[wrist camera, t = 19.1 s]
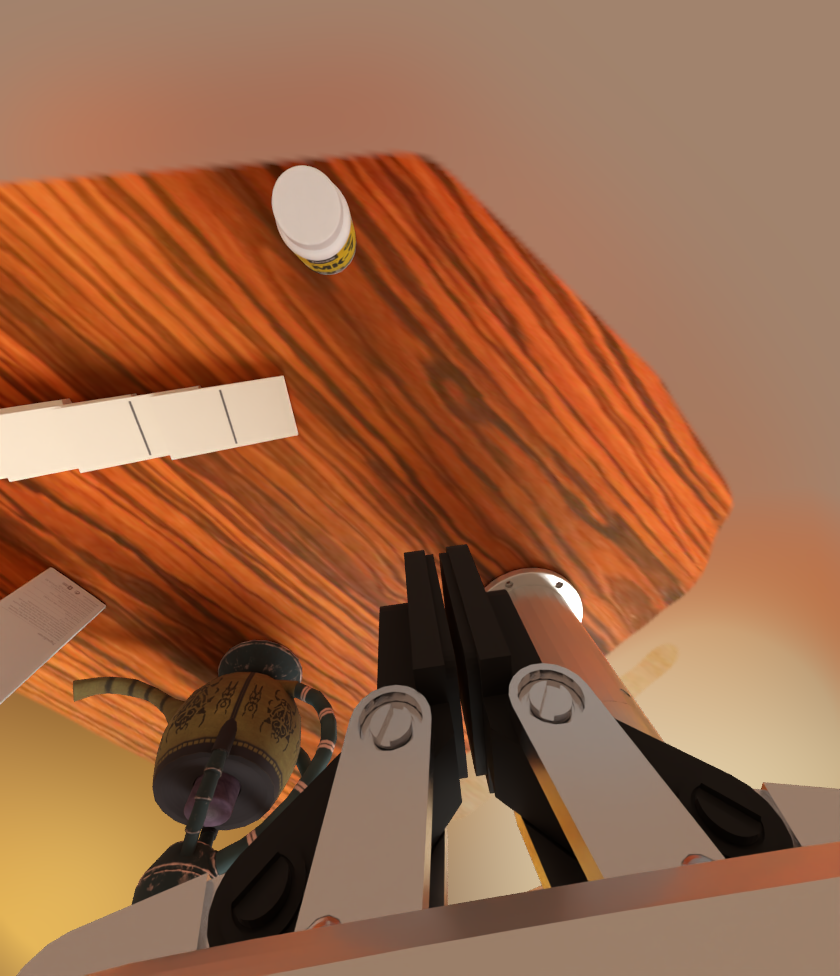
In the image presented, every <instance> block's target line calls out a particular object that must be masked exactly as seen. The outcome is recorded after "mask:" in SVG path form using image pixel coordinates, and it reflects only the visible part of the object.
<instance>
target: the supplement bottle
mask: <svg viewBox="0 0 840 976" xmlns="http://www.w3.org/2000/svg"><path fill="white" fill-rule="evenodd" d="M272 209H273V214H274V217H275V219H276V224H277V228H278V231H279V233H280V235H281V237H282V239H283V241H284V242H285V243H286V245H287V246H288V247H289V248H290V249H291V250H292V251H293V252H294V254H295V255H296V256H297V257H298V258H299V259H300V260H301V261H302V262H303V263H304V264H305V265H306V266H307V267H308V268H310V269H311V270H313V271H315V272H317V273H320V274H324V275H332V274H336V273H339V272H341V271H343V270H344V269H345V268H346V267H347V266H348V265H349V264H350V262H351V261H352V259H353V257H354V254H355V251H356V235H355V230H354V226H353V222H352V218H351V215H350V211H349V207H348V204H347V202H346V200H345V198H344V196H343V194H342V193H341V191H340V190H339V189H338V188H337V187H336V186H335V185H334V184H333V183H332V182H331V180H330V179H329V178H328V177H327V176H326V175H325V174H324V173H322V172H321V171H319V170H318V169H316V168H313V167H310V166H305V165H300V166H294V167H291V168H289V169H287V170H286V171H285V172H283V173H282V174H281V175H280V177H279V178H278V179H277V181H276V183H275V185H274V188H273V192H272Z"/></svg>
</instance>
